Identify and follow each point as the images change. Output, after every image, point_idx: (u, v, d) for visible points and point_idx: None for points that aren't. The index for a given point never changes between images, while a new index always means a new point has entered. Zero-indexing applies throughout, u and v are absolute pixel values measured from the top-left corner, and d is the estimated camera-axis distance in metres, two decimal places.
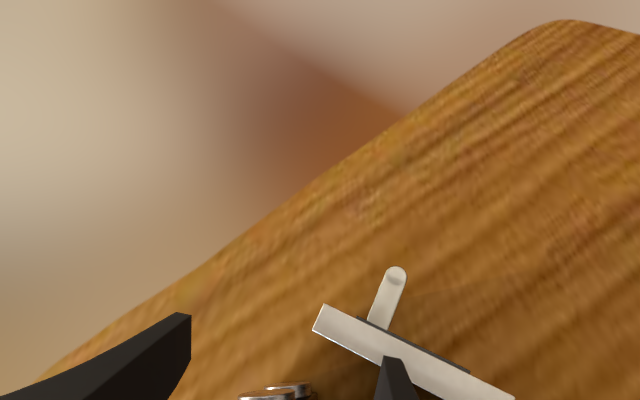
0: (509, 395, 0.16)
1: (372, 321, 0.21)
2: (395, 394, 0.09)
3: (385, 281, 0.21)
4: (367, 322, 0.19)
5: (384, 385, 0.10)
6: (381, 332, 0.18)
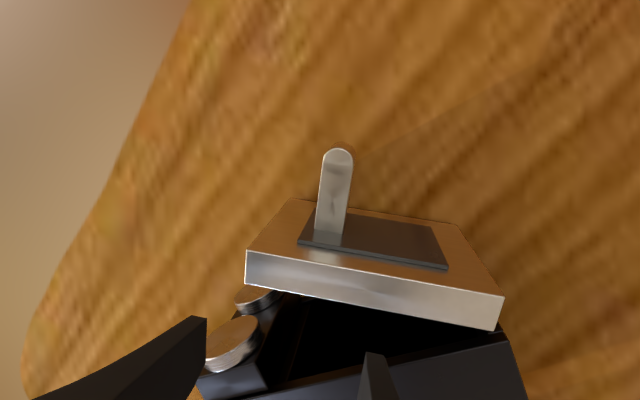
0: (497, 297, 0.12)
1: (322, 227, 0.16)
2: (374, 389, 0.10)
3: (325, 173, 0.15)
4: (312, 243, 0.15)
5: (365, 381, 0.10)
6: (330, 266, 0.13)
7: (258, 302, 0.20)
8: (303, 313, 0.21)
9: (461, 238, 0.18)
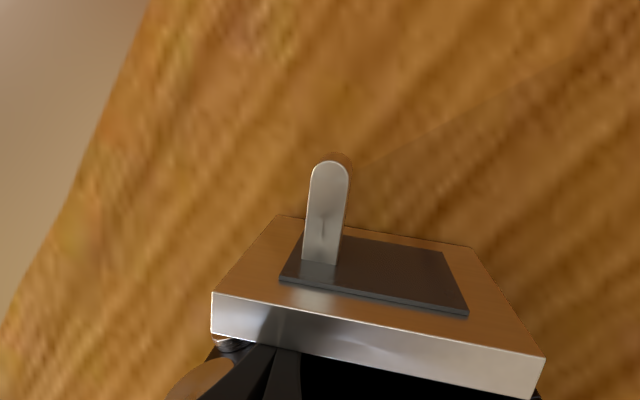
0: (536, 358, 0.10)
1: (311, 257, 0.13)
2: (275, 368, 0.10)
3: (314, 192, 0.12)
4: (298, 281, 0.12)
5: None
6: (318, 314, 0.10)
7: None
8: None
9: (479, 266, 0.15)
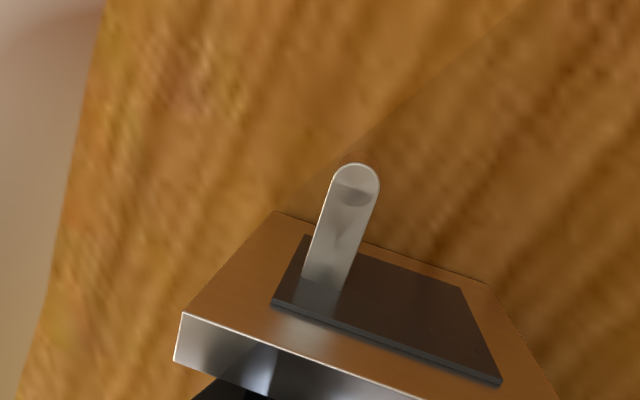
0: None
1: (312, 276, 0.10)
2: None
3: (332, 199, 0.10)
4: (295, 308, 0.09)
5: None
6: (318, 363, 0.08)
7: None
8: None
9: (500, 312, 0.13)
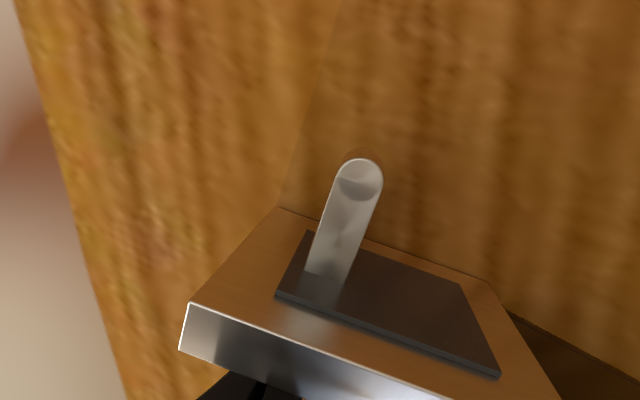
0: None
1: (315, 269, 0.11)
2: None
3: (336, 193, 0.10)
4: (299, 300, 0.09)
5: None
6: (322, 353, 0.08)
7: None
8: None
9: (499, 308, 0.13)
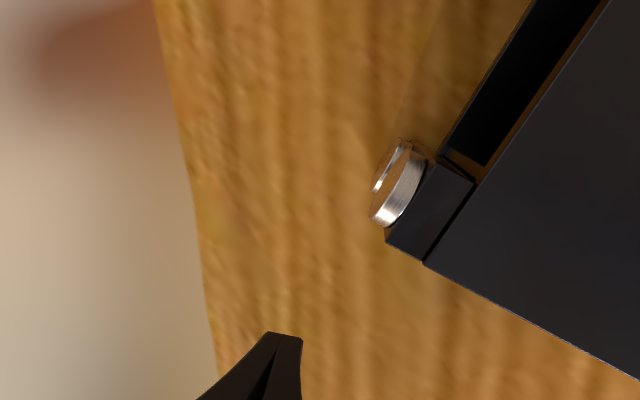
0: None
1: None
2: (275, 368, 0.10)
3: None
4: None
5: None
6: None
7: (394, 162, 0.16)
8: (449, 154, 0.17)
9: None
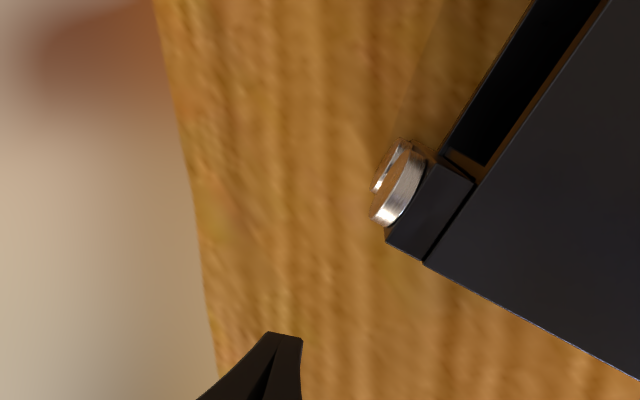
0: None
1: None
2: (275, 368, 0.10)
3: None
4: None
5: None
6: None
7: (394, 162, 0.16)
8: (449, 154, 0.17)
9: None
